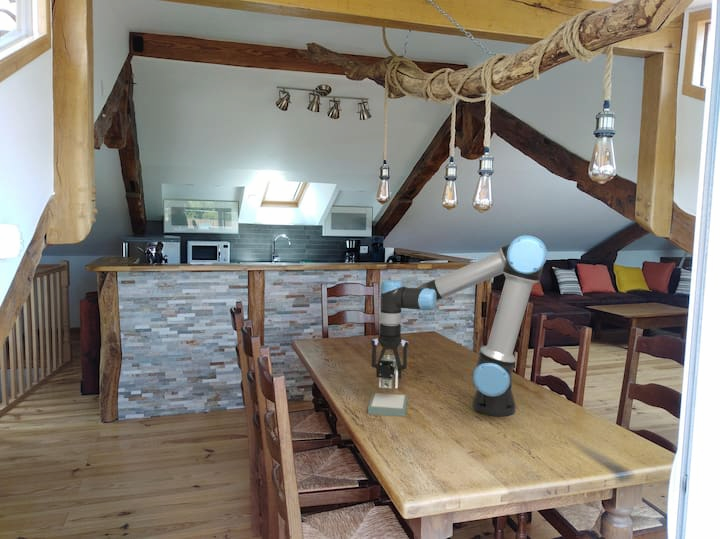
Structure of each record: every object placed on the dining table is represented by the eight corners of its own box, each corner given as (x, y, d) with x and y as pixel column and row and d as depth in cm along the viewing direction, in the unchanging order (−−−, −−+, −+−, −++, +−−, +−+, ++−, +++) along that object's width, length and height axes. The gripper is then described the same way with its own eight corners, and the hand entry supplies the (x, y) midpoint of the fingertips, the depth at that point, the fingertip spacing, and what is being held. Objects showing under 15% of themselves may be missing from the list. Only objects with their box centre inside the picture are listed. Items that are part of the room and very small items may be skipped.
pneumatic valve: (378, 391, 182) (379, 358, 180) (383, 381, 193) (384, 350, 192) (393, 393, 181) (394, 359, 179) (398, 382, 192) (399, 351, 191)
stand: (407, 401, 194) (407, 394, 194) (405, 416, 179) (405, 408, 179) (373, 399, 196) (373, 392, 195) (368, 414, 181) (368, 406, 181)
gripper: (416, 322, 187) (414, 385, 189) (366, 320, 189) (364, 381, 192) (415, 327, 179) (413, 391, 182) (363, 324, 182) (362, 388, 184)
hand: (388, 386), depth 187 cm, fingers closed on pneumatic valve, 5 cm apart
